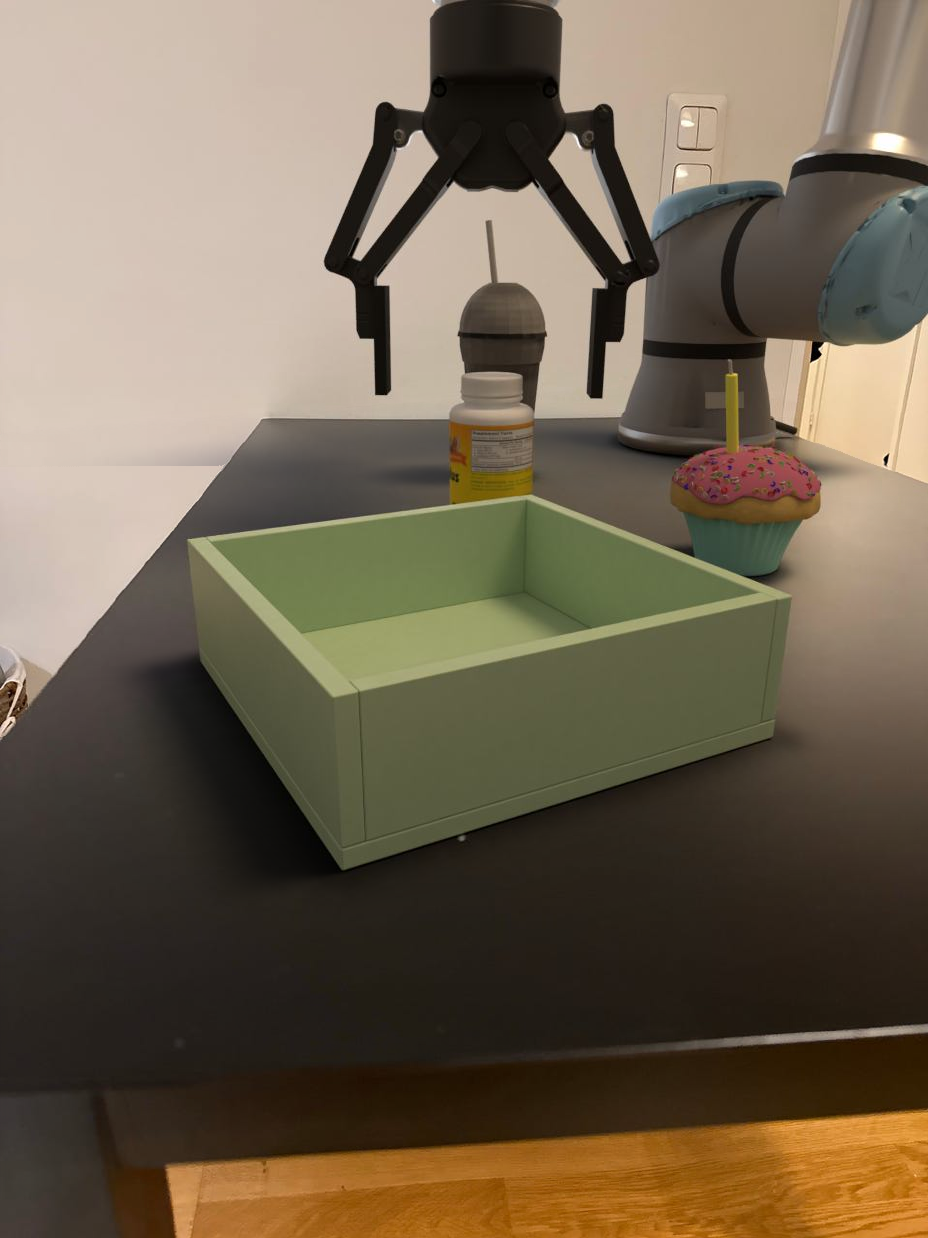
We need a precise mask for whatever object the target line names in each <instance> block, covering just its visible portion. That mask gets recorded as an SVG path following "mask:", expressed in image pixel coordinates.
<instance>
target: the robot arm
mask: <svg viewBox="0 0 928 1238" xmlns="http://www.w3.org/2000/svg"><path fill="white" fill-rule="evenodd" d="M431 1H432V3H434V5H435V6H437V7H438V8H436V10H434V12H433V13H432V15H431V16H430V18H429V96H428V100H427V104H426V106H425V108H424V110H423V111H421V110H413V109H407V108H406V109H405V108H398V107H395V105H393V104H392V102H389V101H382V102H380V103H378V104H377V106H376V108H375V112H374V122H373V123H374V124H373V136H372V144H371V147H370V150H369V152H368V154H367V157H366V159H365V161H364V164H363V166H362V168H361V171H360V173H359V175H358V178H357V180H356V183H355V185H354V186H353V188H352V189H353V190H352V192H351V194H350V197H349V200H348V201H347V204H346V205H345V208H344V211H343V213H342V215H341V218H340V220H339V223H338V225H337V227H336V229H335V232H334V234H333V236H332V239H331V241H330V243H329V246H328V249H327V251H326V253H325V255H324V259H323V266H324V268H325V270H326V271H328V272H329V273H332V274H336V275H338V276H341V277H342V278H345V279H348V280H349V281H350V282H351V283H352V284H353V287H354V294H355V295H354V296H355V298H354V299H355V300H354V302H355V329H356V330H355V331H356V334H357V335H358V338H359V339H360V340H373V362H374V363H373V364H374V365H373V366H374V367H373V369H374V396H388V395H389V394H390V392H391V391H392V362H391V361H392V356H391V351H392V350H391V345H392V344H391V296H390V295H391V292H390V291H391V290H390V289H391V287H390V285H382V284H381V285H380V284H378V278H380V276H381V275H382V274H383V272H384V271H385V270H386V269H387V267H388V266H389V265H390V263H391V262H392V261H393V259H394V258H395V257H396V255H397V254H398V253H399V251H400V250H401V249H402V248H403V246H405V244H406V243H407V241H408V240H409V239H410V237H412V235H413V234H414V233H415V231H416V230H417V228H418V227H419V226H420V225H421V224H422V222H423V221H424V220H425V218H426V217H427V215H428V214H429V213H430V212H431V211H432V209H433V208H434V207H435V206H436V204H437V203H438V202H439V200H441V198H442V197H443V196H444V195H445V194H446V192H447V191H448V190H449V189H450V187H451V186H452V185H453V184H455V185H456V186H457V187H459V188H460V189H462V190H465V191H466V192H468V193H480V192H484V191H489V190H491V189H494V190H498V191H501V192H504V193H519V191H522V190H524V189H526V188H528V187H529V186H530V185H531V184H532V185H533V186H534V187H535V189H536V191H537V192H538V193H539V195H541V197H542V198H543V199H544V200H545V201H546V203H547V204H548V206H549V207H550V208H551V209H552V211H553V212H554V214H555V215H556V217H557V218H558V219H559V221H560V222H561V223H562V225H563V226H564V227H565V229H566V230H567V231H568V233H569V234H570V236H571V237H572V238H573V240H574V241H575V243H576V244H577V245H578V247H579V248H580V249H581V251H582V252H583V253H584V255H585V256H586V258H587V259H588V260H589V261H590V263H591V265H592V266H593V268H594V269H595V270H596V271H597V273H598V274H599V276H600V277H601V278H602V280H603V281H604V287H592V289H591V290H592V291H591V306H590V307H591V308H590V322H589V341H588V361H587V375H586V376H587V377H586V378H587V379H586V395H587V396H588V397H589V398H590V399H594V400H596V399H597V400H598V399H601V400H603V398H604V381H605V368H606V367H605V366H606V350H607V349H606V348H607V343H621V342H622V339H623V337H624V335H625V327H626V326H625V324H626V312H627V296H628V291H629V289H630V288H631V286H632V285H633V284H634V283H636V282H639V281H641V280H644V279H645V292H644V293H645V294H644V314H643V335H642V348H641V360H640V366H639V368H638V371H637V374H636V376H635V378H634V381H633V384H632V386H631V390H630V393H629V396H628V399H627V402H626V405H625V409H624V411H623V412H622V413H621V416H620V419H619V422H618V431H617V432H618V434H617V439H618V442H619V443H621V444H623V445H624V446H626V447H628V448H629V447H630V448H633V449H637V450H642V451H646V452H652V453H659V454H666V455H667V454H668V455H676V456H690V457H693V456H694V455H697V454H699V453H700V452H707V451H710V450H714V449H715V447H716V446H719V447H721V448H725V447H727V437H726V380H725V376H726V375H727V374H729V368H728V360H731V361H732V370H733V373H736V374H738V441H739V446H741V445H743V444H744V445H751V446H752V447H755V446H761V447H763V448H766V447H775V442H776V434H777V431H782V432H784V433H787V434H789V435H792V436H795V435H797V433H798V427H795V426H793V425H790V424H788V423H784V422H782V421H778V420H776V419H775V417H774V416H772V415H771V402H770V401H771V400H770V393H769V386H768V381H767V376H766V370H765V369H766V368H765V362H766V361H765V359H766V350H767V342H768V339H775V340H791V341H803V342H814V343H815V342H817V343H829V344H831V345H834V346H838V347H851V346H854V345H869V346H870V345H875V346H877V345H884V344H888V343H892V342H894V341H897V340H899V339H901V338H903V337H905V336H906V335H907V334H909V333H910V332H911V331H912V330H913V329H914V328H915V327H916V326H917V325H920V324H921V323H922V321H924V319H925V318H926V317H927V316H928V0H850V5H849V9H848V14H847V17H846V22H845V26H844V30H843V35H842V40H841V43H840V47H839V50H838V54H837V60H836V63H835V67H834V72H833V76H832V80H831V84H830V88H829V93H828V97H827V101H826V105H825V110H824V113H823V118H822V122H821V126H820V130H819V133H818V134H819V135H818V139H817V141H816V142H815V143H814V145H812V146H810V148H808V149H807V150H806V151H804V152H803V153H802V154H800V155H799V156H797V157H796V158H795V159H794V161H793V162H792V166H791V170H790V174H789V179H788V183H787V185H786V186H787V187H786V191H785V194H784V188H783V186H782V185H781V183H779V182H777V181H772V180H738V181H729V182H725V183H714V184H707V185H706V184H705V185H701V186H697V187H693V188H687V189H684V190H681V191H678V192H675V193H672V194H670V195H668V196H666V197H665V198H663V199H662V200H661V201H660V202H659V203H658V204H657V205H656V207H655V209H654V211H653V214H652V217H651V220H652V221H651V227H650V233H649V231H648V229H647V226H646V224H645V220H644V218H643V216H642V213H641V210H640V208H639V206H638V202H637V200H636V198H635V195H634V192H633V190H632V186H631V185H630V182H629V180H628V176H627V175H626V172H625V169H624V166H623V163H622V161H621V159H620V155H619V153H618V151H617V148H616V140H615V139H616V138H615V137H616V136H615V114H614V110H613V108H612V106H611V105H609V103H600V104H598V105H597V106H596V107H594V108H593V109H587V110H579V111H571V112H570V111H569V112H565V110H564V108H563V104H562V101H561V71H562V70H561V69H562V44H563V43H562V42H563V21H564V20H563V17H562V16H560V13H559V12H558V10H557V9H555V7H558V5H559V4H560V3H561V1H562V0H431ZM419 133H420V134H421V133H422V135H423V136H424V138H425V140H426V141H427V144H429V146H430V147H431V149H432V151H433V152H434V154H435V155H436V158H437V159H436V161H434V163H433V165H431V166H430V168H429V169H428V171H427V172H426V173H425V175H424V176H423V178H422V180H421V181H420V182H419V184H418V185H417V187H416V188H415V189H414V191H413V192H411V194H410V195H409V197H408V198H407V199H406V201H405V203H403V205H402V206H401V207H400V209H399V210H398V211H397V212H396V214H395V215H394V217H393V218H392V219H391V221H390V222H389V223H388V224H387V226H386V227H385V228H384V229H383V231H382V232H381V233H380V235H379V236H378V237H377V239H376V240H375V241H374V243H373V244H372V245H371V246H370V248H369V249H368V251H367V252H365V254H364V256H363V257H362V259H361V260H360V259H358V258H355V257H354V256H355V253H356V252H357V249H358V246H359V244H360V242H361V239H362V237H363V235H364V232H365V230H366V228H367V226H368V224H369V221H370V219H371V217H372V215H373V212H374V210H375V207H376V206H377V203H378V200H379V199H380V196H381V193H382V191H383V190H384V188H385V187H384V186H385V185H386V182H387V180H388V177H389V175H390V173H391V171H392V168H393V166H394V163H395V160H396V157H397V153H398V151H403V150H406V149H407V148H408V147H409V146H410V143H411V141H412V138H413V137H414V136H415V135H416V134H419ZM565 135H570V136H572V137H573V138H574V139H575V141H576V144H577V147H578V148H579V149H580V150H581V151H583V152H589V153H590V158H591V159H590V160H591V162H592V166H593V168H594V169H593V170H594V171H595V174H596V176H597V178H598V181H599V184H600V186H601V189H602V191H603V194H604V196H605V199H606V202H607V204H608V206H609V209H610V212H611V214H612V217H613V219H614V222H615V224H616V227H617V229H618V232H619V234H620V237H621V239H622V242H623V245H624V247H625V251H626V253H627V254H628V258H629V260H628V261H625V262H622V260H621V259H620V258H619V257H618V256H617V254H616V253H615V251H614V250H613V249H612V247H611V246H610V244H609V243H608V242H607V240H606V239H605V237H604V236H603V235H602V233H601V232H600V231H599V229H598V228H597V227H596V225H595V223H594V222H593V221H592V219H591V218H590V217H589V215H588V214H587V212H586V211H585V210H584V208H583V207H582V205H581V204H580V202H579V201H578V200H577V198H576V197H575V196H574V194H573V193H572V192H571V190H570V189H569V187H568V186H567V184H566V183H565V181H564V179H563V177H562V176H561V175H560V173H559V171H557V169H556V168H555V166H554V164H553V163H552V162H551V160H550V157H551V156H552V155H553V153H554V152H555V150H556V149H557V147H559V145H560V143H561V142H562V140H563V138H564V137H565Z"/></svg>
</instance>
